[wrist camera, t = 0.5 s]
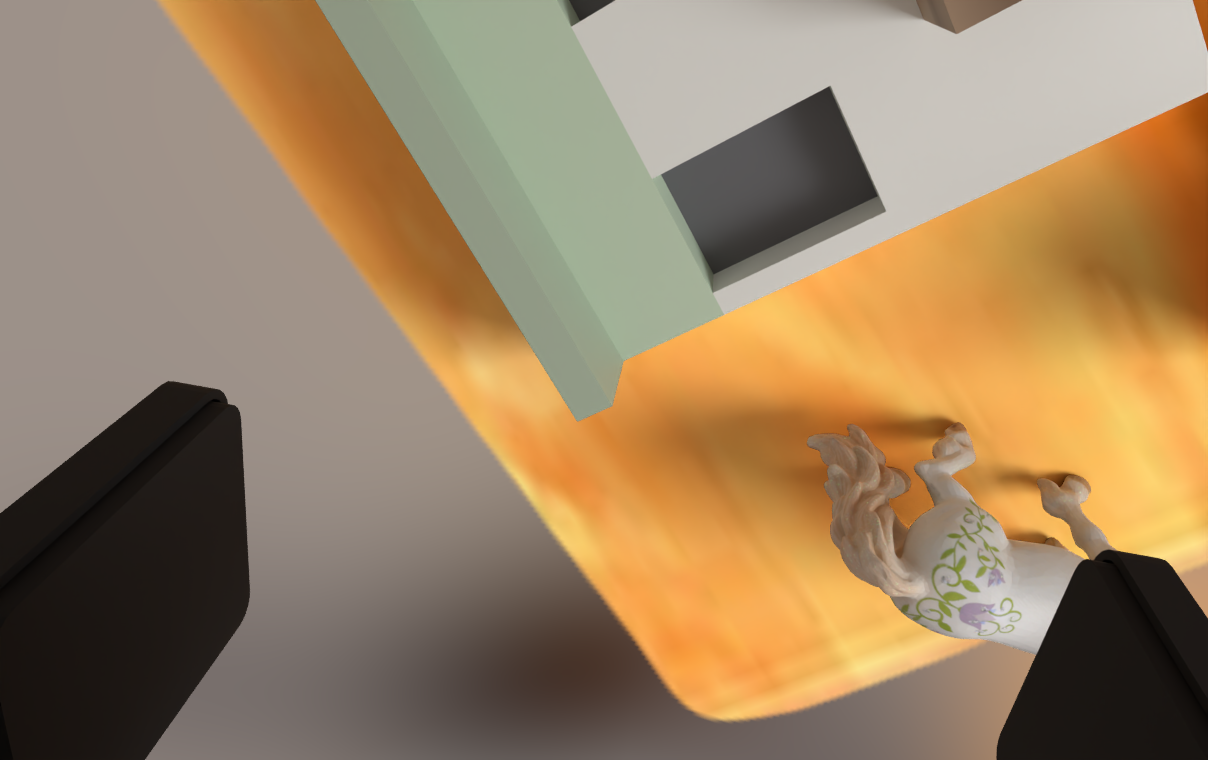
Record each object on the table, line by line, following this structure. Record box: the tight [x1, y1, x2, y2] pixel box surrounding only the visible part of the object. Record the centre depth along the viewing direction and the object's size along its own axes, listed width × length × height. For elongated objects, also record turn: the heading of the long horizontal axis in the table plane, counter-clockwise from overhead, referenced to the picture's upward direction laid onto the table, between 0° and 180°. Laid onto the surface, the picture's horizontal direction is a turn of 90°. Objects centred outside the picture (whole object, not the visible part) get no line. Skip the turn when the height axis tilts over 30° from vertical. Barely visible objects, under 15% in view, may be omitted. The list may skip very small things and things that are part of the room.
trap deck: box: [315, 0, 1208, 422], centre depth 31 cm, size 24×18×6 cm
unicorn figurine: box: [807, 422, 1117, 655], centre depth 35 cm, size 7×20×13 cm, turn 88°
